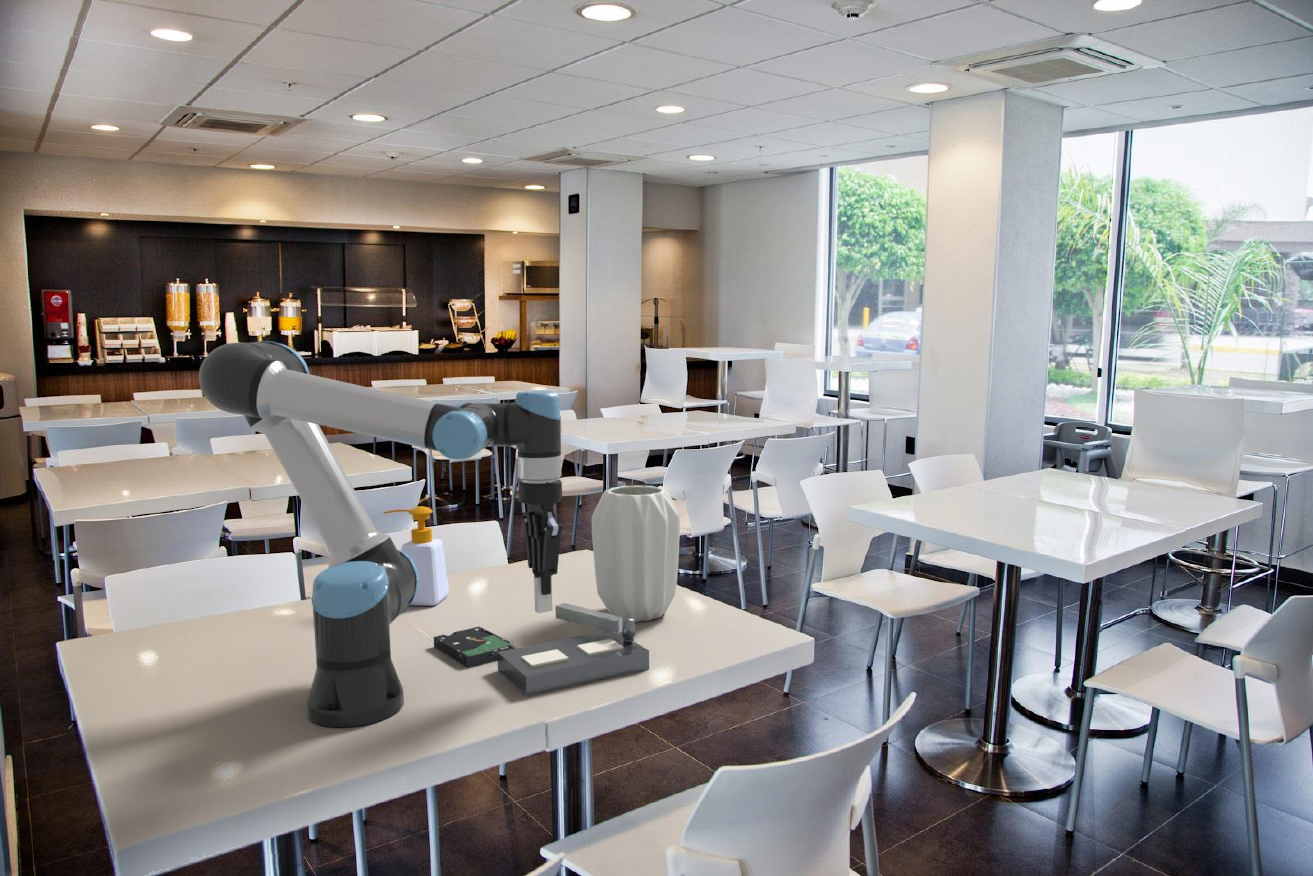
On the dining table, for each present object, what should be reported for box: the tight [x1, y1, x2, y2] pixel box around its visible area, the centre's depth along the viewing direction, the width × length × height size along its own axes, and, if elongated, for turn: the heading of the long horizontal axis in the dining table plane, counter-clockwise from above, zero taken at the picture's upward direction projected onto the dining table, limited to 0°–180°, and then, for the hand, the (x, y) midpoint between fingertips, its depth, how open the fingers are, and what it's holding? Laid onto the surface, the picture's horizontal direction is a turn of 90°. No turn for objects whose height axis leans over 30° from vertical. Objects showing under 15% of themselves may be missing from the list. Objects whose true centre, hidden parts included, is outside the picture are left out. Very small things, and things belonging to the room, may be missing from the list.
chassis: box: [497, 630, 650, 697], centre depth 166 cm, size 24×14×4 cm, turn 120°
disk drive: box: [433, 626, 516, 669], centre depth 177 cm, size 10×3×15 cm
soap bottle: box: [382, 505, 450, 607], centre depth 210 cm, size 10×14×22 cm
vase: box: [591, 485, 681, 623], centre depth 198 cm, size 20×20×27 cm
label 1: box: [521, 649, 569, 667], centre depth 162 cm, size 7×5×1 cm
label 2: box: [577, 639, 623, 655], centre depth 168 cm, size 7×5×1 cm
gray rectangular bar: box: [555, 602, 636, 638], centre depth 176 cm, size 19×2×3 cm, turn 51°
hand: (543, 610), depth 161 cm, fingers closed
